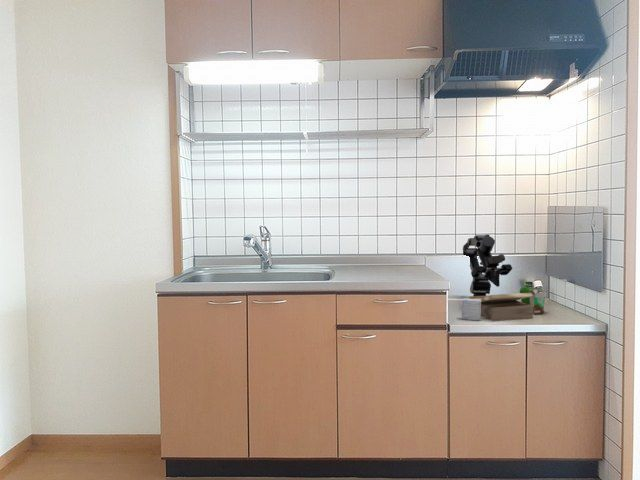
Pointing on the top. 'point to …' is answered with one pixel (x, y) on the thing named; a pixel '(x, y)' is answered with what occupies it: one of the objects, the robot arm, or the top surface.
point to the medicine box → (471, 309)
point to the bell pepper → (526, 290)
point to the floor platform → (505, 310)
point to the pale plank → (505, 297)
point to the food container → (537, 300)
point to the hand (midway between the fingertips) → (498, 286)
